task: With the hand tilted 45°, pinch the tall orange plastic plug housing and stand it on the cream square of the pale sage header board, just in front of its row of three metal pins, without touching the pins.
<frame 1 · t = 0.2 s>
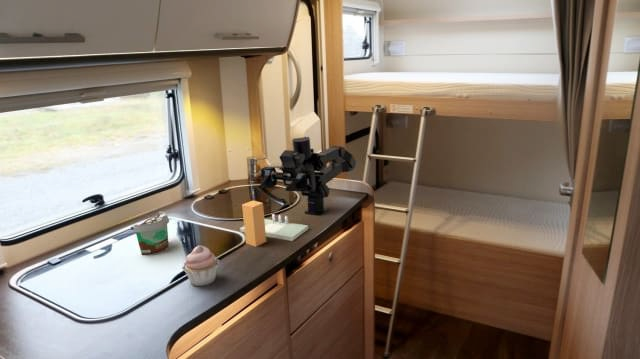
hand: (273, 187, 136), 17 cm above the worktop, tool horizontal, fingers open, 9 cm apart
food container: (160, 249, 138), on the worktop
header board: (274, 230, 148), on the worktop
cupcake: (203, 281, 118), on the worktop
plug housing: (256, 242, 139), on the worktop
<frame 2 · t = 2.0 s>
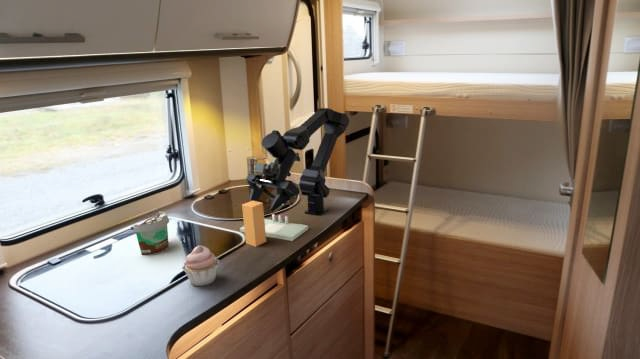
hand: (260, 208, 138), 10 cm above the worktop, tool tilted 45°, fingers open, 9 cm apart
nothing on the worktop moved.
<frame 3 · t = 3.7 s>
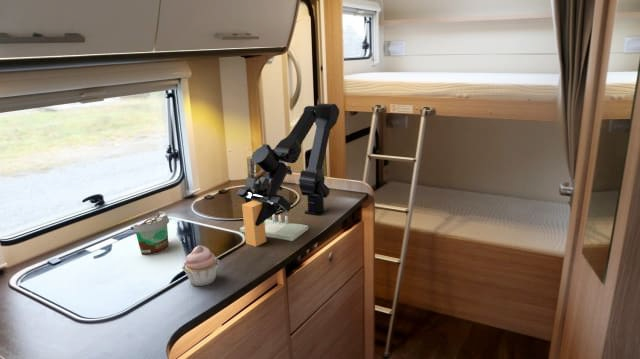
hand: (250, 223, 136), 7 cm above the worktop, tool tilted 45°, fingers closed on plug housing, 4 cm apart
plug housing: (256, 242, 139), on the worktop, touching gripper
everything else where it was.
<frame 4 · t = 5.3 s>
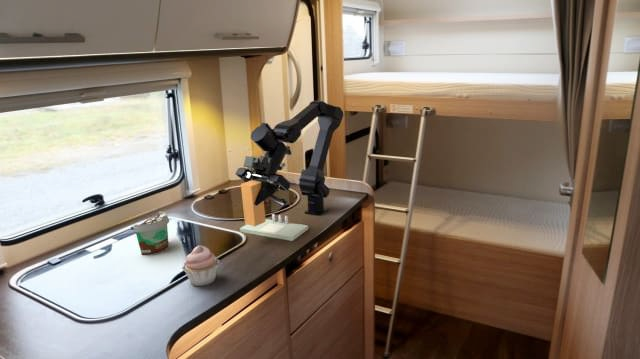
hand: (249, 203, 135), 13 cm above the worktop, tool tilted 45°, fingers closed on plug housing, 4 cm apart
plug housing: (255, 222, 138), point 6 cm above the worktop, touching gripper
everything else where it was.
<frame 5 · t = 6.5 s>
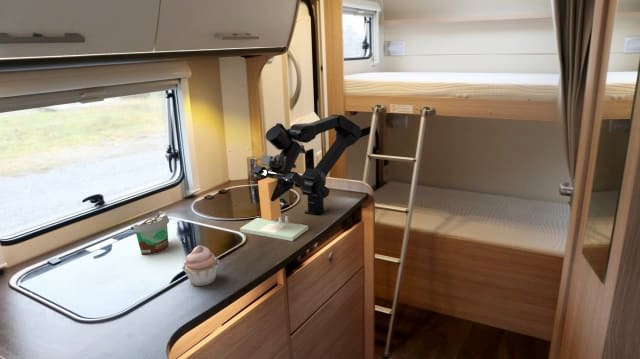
hand: (266, 199, 143), 11 cm above the worktop, tool tilted 45°, fingers closed on plug housing, 4 cm apart
plug housing: (271, 217, 146), point 5 cm above the worktop, touching gripper
everything else where it was.
when the fingers open (9 cm above the worktop, at t = 7.3 s): plug housing drops 1 cm, resting on header board.
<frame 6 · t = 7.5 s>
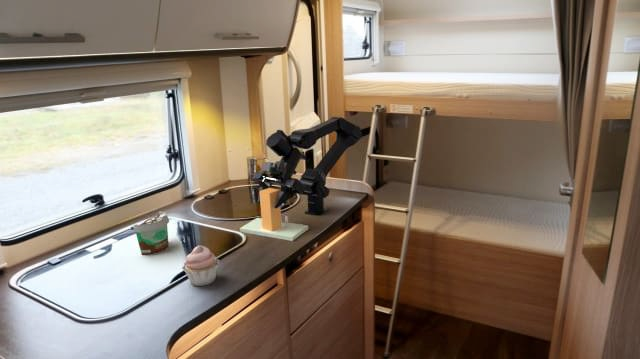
hand: (266, 205, 143), 9 cm above the worktop, tool tilted 45°, fingers open, 7 cm apart
plug housing: (271, 227, 146), point 1 cm above the worktop, touching header board
everything else where it was.
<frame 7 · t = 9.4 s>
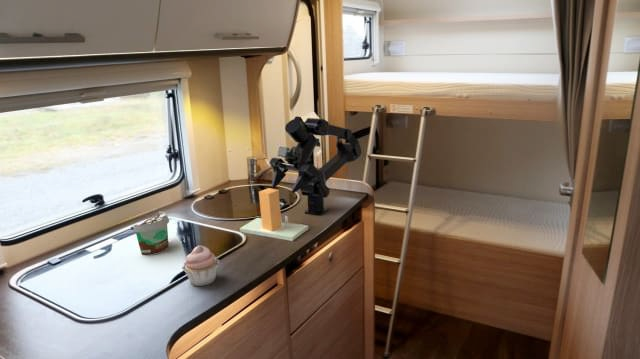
hand: (282, 190, 147), 13 cm above the worktop, tool tilted 45°, fingers open, 9 cm apart
nothing on the worktop moved.
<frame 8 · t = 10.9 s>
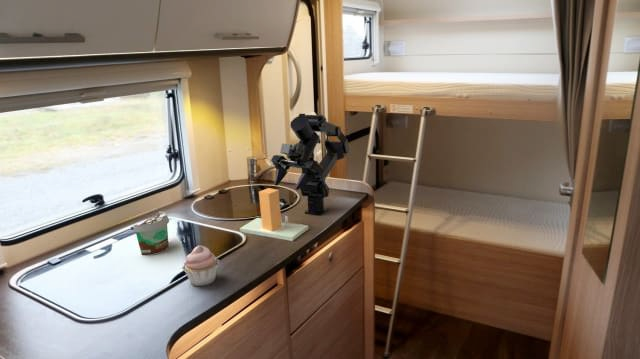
hand: (285, 187, 146), 14 cm above the worktop, tool tilted 45°, fingers open, 9 cm apart
nothing on the worktop moved.
at the end: plug housing 0.0 cm from the target spot on the header board, point 1.3 cm above the header board's base; plug housing tilted 0°; the gripper is holding nothing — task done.
